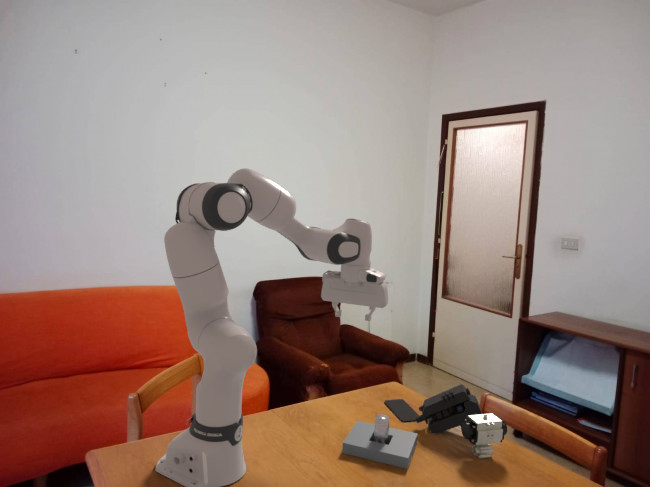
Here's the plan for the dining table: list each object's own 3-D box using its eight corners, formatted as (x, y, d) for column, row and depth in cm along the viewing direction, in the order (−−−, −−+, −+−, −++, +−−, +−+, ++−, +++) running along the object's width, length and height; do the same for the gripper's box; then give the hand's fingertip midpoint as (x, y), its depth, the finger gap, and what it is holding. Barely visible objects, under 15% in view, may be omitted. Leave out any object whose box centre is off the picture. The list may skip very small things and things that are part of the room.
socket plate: (342, 453, 130) (342, 442, 130) (356, 430, 144) (357, 420, 143) (407, 469, 124) (408, 458, 124) (416, 443, 137) (417, 433, 137)
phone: (402, 421, 150) (383, 400, 164) (401, 423, 150) (383, 402, 164) (423, 419, 152) (402, 398, 166) (423, 421, 152) (402, 401, 166)
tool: (492, 433, 139) (469, 387, 139) (431, 455, 144) (409, 411, 144) (489, 423, 145) (467, 379, 145) (431, 445, 150) (410, 402, 150)
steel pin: (371, 449, 133) (373, 419, 132) (375, 443, 136) (376, 413, 136) (385, 453, 131) (387, 422, 130) (388, 446, 135) (390, 416, 134)
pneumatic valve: (458, 453, 133) (461, 412, 132) (495, 449, 136) (498, 408, 135) (469, 464, 128) (472, 421, 127) (507, 459, 131) (511, 418, 130)
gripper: (319, 271, 143) (317, 316, 145) (385, 278, 136) (383, 325, 138) (326, 268, 149) (324, 311, 151) (390, 275, 142) (387, 320, 144)
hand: (352, 318), depth 144 cm, fingers open, 8 cm apart
